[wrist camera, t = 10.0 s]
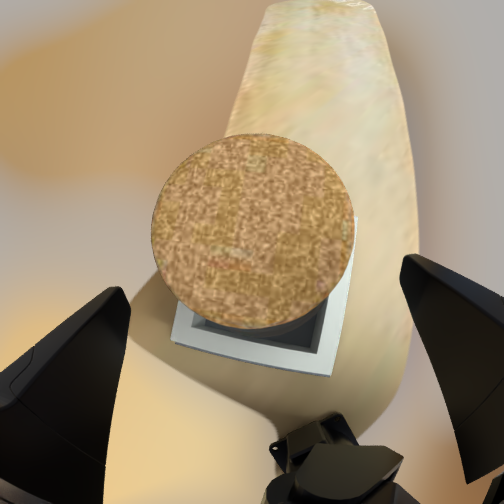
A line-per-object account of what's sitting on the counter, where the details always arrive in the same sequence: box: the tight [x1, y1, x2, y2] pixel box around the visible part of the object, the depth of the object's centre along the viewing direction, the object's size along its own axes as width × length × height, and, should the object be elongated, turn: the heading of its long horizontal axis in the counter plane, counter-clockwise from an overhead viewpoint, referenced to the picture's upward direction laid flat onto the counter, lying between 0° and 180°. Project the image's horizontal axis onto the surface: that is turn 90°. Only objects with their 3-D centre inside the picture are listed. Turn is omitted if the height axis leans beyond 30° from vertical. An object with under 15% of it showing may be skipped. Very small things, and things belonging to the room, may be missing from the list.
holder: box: [170, 216, 358, 377], centre depth 19 cm, size 12×12×4 cm
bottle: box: [151, 134, 355, 337], centre depth 13 cm, size 6×6×15 cm
